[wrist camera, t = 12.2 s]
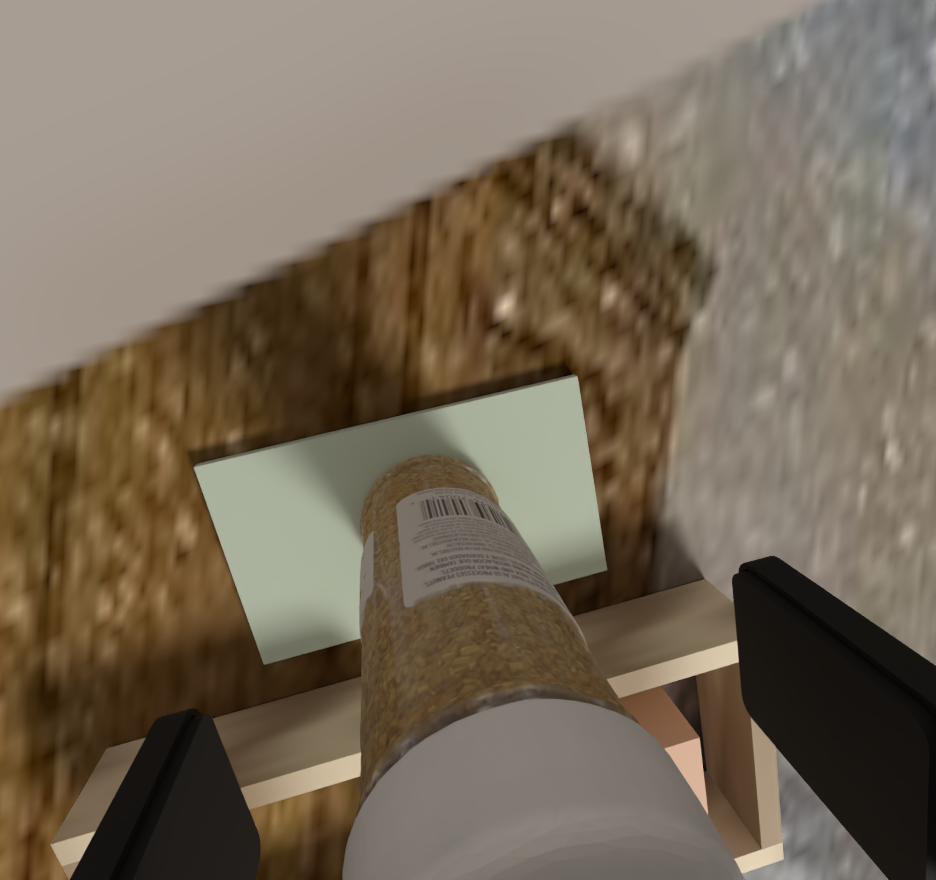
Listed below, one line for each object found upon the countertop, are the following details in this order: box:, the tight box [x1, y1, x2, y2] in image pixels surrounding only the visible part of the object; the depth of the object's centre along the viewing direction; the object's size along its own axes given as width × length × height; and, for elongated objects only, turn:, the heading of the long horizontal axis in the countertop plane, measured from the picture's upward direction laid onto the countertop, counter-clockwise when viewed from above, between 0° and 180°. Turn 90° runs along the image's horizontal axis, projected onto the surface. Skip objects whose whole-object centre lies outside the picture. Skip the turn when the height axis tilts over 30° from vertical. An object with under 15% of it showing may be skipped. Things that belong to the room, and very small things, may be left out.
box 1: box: [51, 677, 362, 880], centre depth 19 cm, size 10×10×4 cm
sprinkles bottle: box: [342, 455, 745, 880], centre depth 12 cm, size 5×5×13 cm
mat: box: [194, 375, 607, 665], centre depth 19 cm, size 12×7×1 cm, turn 102°
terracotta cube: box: [619, 686, 708, 814], centre depth 20 cm, size 4×4×4 cm
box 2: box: [573, 579, 784, 873], centre depth 21 cm, size 10×10×4 cm
